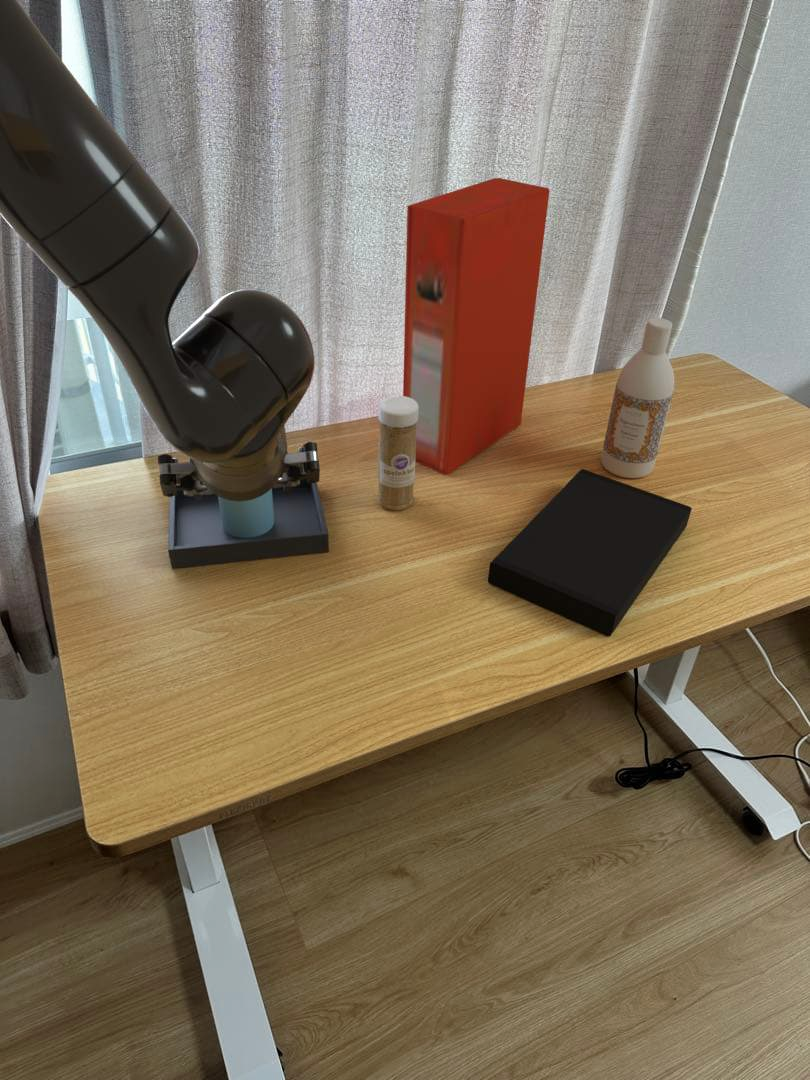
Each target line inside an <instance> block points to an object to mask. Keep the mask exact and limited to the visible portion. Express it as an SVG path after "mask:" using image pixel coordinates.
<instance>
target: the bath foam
mask: <svg viewBox="0 0 810 1080" xmlns="http://www.w3.org/2000/svg"><path fill="white" fill-rule="evenodd" d="M672 329H673V322H672V321H670V320H668V319H666V318H663V317H651V318H649V319H648V320H647V322H646V325H645V329H644V334H643V338H642V343H641V348H640V349H639V350H638V351H637V352H636V353H634V355H633V356H632V357H631V358H630V359H629V360H628V361H626V363H625V364H624V365H623V367H622V369H621V371H620V372H619V375H618V378H617V381H616V384H615V389H614V392H613V393H614V395H613V398H612V402H611V403H612V404H611V407H610V412H609V417H608V422H607V426H606V431H605V436H604V441H603V447H602V452H601V457H600V462H601V464H602V466H603V468H604V469H605V470H606V471H608V472H609V473H610V474H612V475H614V476H617V477H619V478H620V477H621V478H625V479H641V478H644V477H647V476H649V475H651V473H652V472H653V470H654V469H655V465H656V461H657V459H658V455H659V450H660V446H661V443H662V439H663V435H664V430H665V428H666V427H665V426H666V423H667V419H668V415H669V412H670V408H671V404H672V400H673V396H674V393H675V392H674V391H675V381H676V380H675V373H674V369H673V366H672V364H671V361H670V359H669V356H668V354H667V349H668V346H669V342H670V337H671V334H672Z"/></svg>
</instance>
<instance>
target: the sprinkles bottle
mask: <svg viewBox="0 0 810 1080" xmlns="http://www.w3.org/2000/svg"><path fill="white" fill-rule="evenodd" d="M418 413H419V406H418V403H417V402H416V401H415V400H413V399H411V398H409V397H405V396H403V395H390V396H387V397H385V398H383V399H381V401H379V403H378V413H377V418H378V423H379V433H378V434H379V435H378V450H377V479H378V491H377V492H378V494H377V496H376V497H377V499H376V500H377V503H378V504H379V506H381V507H382V508H383V509H385V510H389V511H402V510H406V509H408V508H410V507H411V506H412V505H413V503H414V499H415V498H414V485H415V483H414V482H415V475H416V474H415V473H416V461H415V457H416V424H417V421H418Z"/></svg>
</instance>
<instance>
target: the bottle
mask: <svg viewBox="0 0 810 1080" xmlns="http://www.w3.org/2000/svg"><path fill="white" fill-rule="evenodd" d="M218 499H219V506H220V514H221V521H222V527H223V529H224V531H225V532H227V533H228V534H230V535H232V536H235V537H239V538H251V537H257V536H260V535H262V534H264V533H266V532H268V531H269V530H270V529H271V528H272V527H273V525H274V510H273V498H272V488H271V489H270V490H269V491H268V492H267V493H265V494H264V495H262V496H260V497H258V498H256V499H252V500H248V501H231V500H227V499H223V498H221V497H219V496H218Z"/></svg>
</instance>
